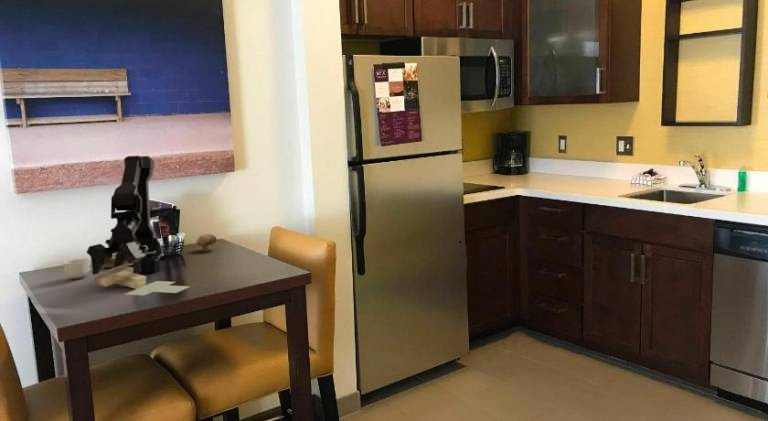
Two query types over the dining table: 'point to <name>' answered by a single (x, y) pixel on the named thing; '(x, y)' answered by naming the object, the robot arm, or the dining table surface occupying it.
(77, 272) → the teacup
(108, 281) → the t block
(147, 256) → the robot arm
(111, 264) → the cake
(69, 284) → the dining table surface
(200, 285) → the dining table surface
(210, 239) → the mushroom
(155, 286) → the pad
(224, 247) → the dining table surface
